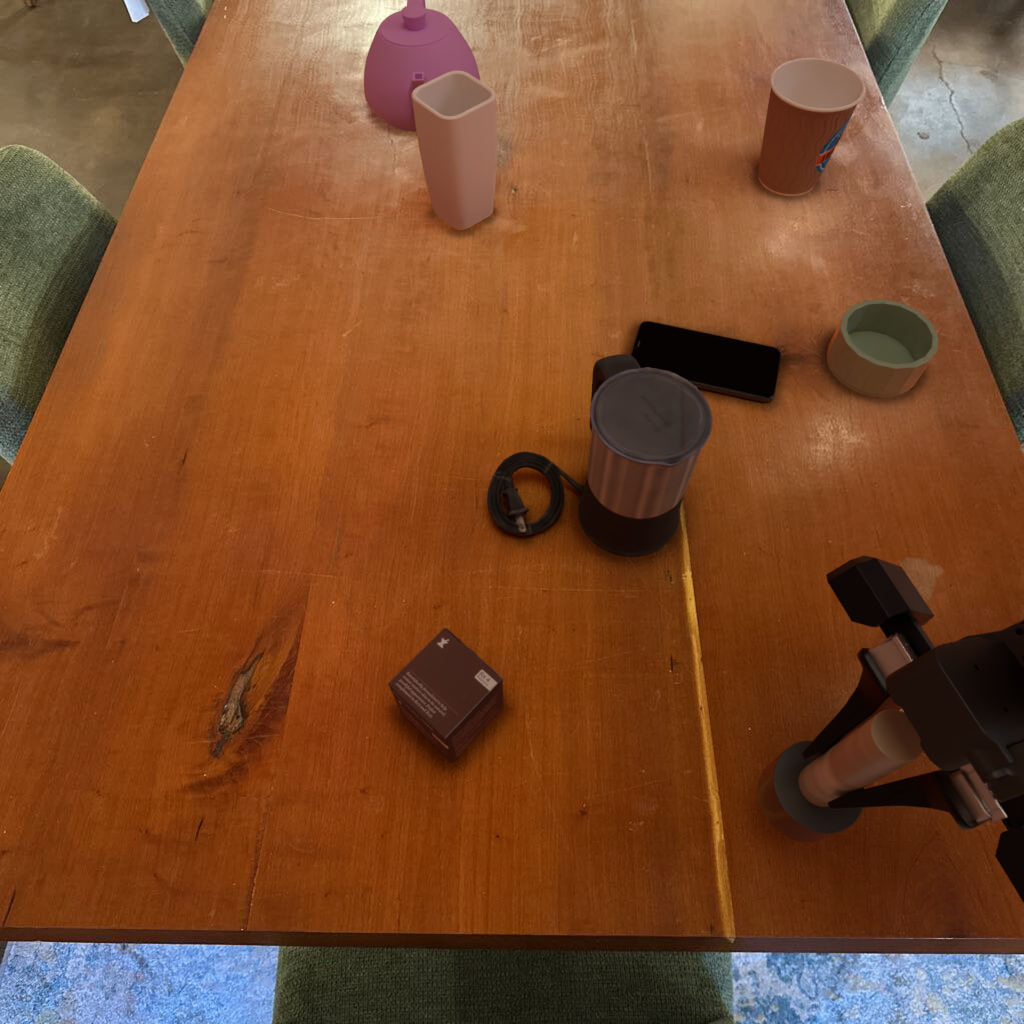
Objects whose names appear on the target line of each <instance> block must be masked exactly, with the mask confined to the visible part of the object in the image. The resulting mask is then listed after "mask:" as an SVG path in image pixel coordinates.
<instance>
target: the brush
mask: <svg viewBox="0 0 1024 1024" xmlns="http://www.w3.org/2000/svg"><path fill="white" fill-rule="evenodd" d="M812 741H813V740H802V741H799V742H796V743H793V744H791V745H789V746H788V747H787V748H786V749H784V750H782V752H781V753H779V754H778V755H777V756H776V757H775V758H773V760H771V761H770V762H769V763H768V764H767V765H766V766H765V767H764V769H763V770H762V771H761V774H760V776H759V780H758V783H757V798H758V803H759V807H760V809H761V812H762V813H763V815H764V817H765V819H766V820H767V822H769V824H770V825H771V827H773V828H774V829H775V830H776V831H777V832H779V834H781V835H782V836H784V837H786V838H788V839H790V840H792V841H795V842H800V843H808V844H809V843H817V842H820V841H821V842H822V841H823V840H826V839H828V838H830V837H832V836H834V835H837V834H840V833H841V832H844V831H845V830H848V829H849V828H851V827H852V826H853V825H854V824H856V822H858V819H859V818H860V817H861V815H862V812H863V810H864V808H847V809H830V808H829V806H828V804H827V803H828V802H829V801H831V800H834V799H836V798H838V797H840V796H843V795H845V794H847V793H851V792H855V791H859V790H862V789H866V787H868V786H870V785H872V784H875V782H877V781H879V780H882V778H885V777H887V776H888V775H890V774H892V773H894V772H895V771H897V770H900V769H901V768H903V767H905V766H908V764H910V763H913V762H914V761H916V760H917V759H919V758H920V757H921V756H922V754H923V753H924V751H923V749H922V748H921V745H920V742H921V740H920V737H919V735H918V734H917V732H916V731H915V729H914V727H913V726H912V724H911V722H910V721H909V719H908V717H907V716H906V714H905V712H904V711H903V710H894V709H888V710H884V711H881V712H879V713H878V714H876V715H875V716H874V717H872V718H871V719H870V720H868V721H867V722H866V723H864V724H863V725H862V726H860V727H859V728H857V729H856V730H855V731H853V732H852V733H851V734H849V735H848V736H847V737H845V738H844V739H843V740H841V741H840V742H838V743H837V744H836V745H834V746H833V747H832V748H830V749H829V750H828V751H826V752H825V753H824V754H822V755H819V756H817V757H815V758H812V759H807V760H805V759H804V758H803V756H802V752H803V751H804V750H805V749H806V748H807V747H808V746H809V744H810V743H811V742H812Z"/></svg>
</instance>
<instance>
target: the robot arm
mask: <svg viewBox="0 0 1024 1024" xmlns="http://www.w3.org/2000/svg"><path fill="white" fill-rule="evenodd" d="M825 575H826V581H827V583H828V585H829V587H830V589H831V590H832V592H833V593H834V595H835V597H836V598H837V601H839V603H840V605H841V606H842V608H843V609H844V611H845V613H846V614H847V616H848V618H849V619H850V621H851V622H852V623H856V624H860V625H863V626H866V627H869V628H870V627H871V628H875V629H876V628H880V630H881V631H882V633H883V635H884V636H885V639H884V640H881V641H880V643H879V644H877V645H875V646H873V647H871V648H869V647H862V648H860V650H858V652H857V654H856V656H857V659H858V661H859V663H860V665H861V668H862V672H861V674H860V677H859V681H858V683H857V686H856V687H855V689H854V691H853V692H852V694H851V695H850V696H849V698H848V699H847V701H846V703H845V704H844V705H843V707H842V708H841V709H840V710H839V711H838V713H837V714H836V715H834V717H833V718H832V719H831V720H830V721H829V722H828V723H827V724H826V726H825V727H824V728H822V730H821V731H820V732H819V733H818V735H816V736H815V737H814V739H813V740H811V741H812V742H811V743H810V744H809V746H808V747H807V748H806V749H805V750H804V751H803V752H802V756H803V758H804V759H805V760H807V759H812V758H815V757H817V756H819V755H822V754H824V753H825V752H826V751H828V750H829V749H830V748H832V747H833V746H834V745H836V744H837V743H838V742H840V741H841V740H843V739H844V738H845V737H847V736H848V735H849V734H851V733H852V732H853V731H855V730H856V729H857V728H859V727H860V726H862V725H863V724H864V723H866V722H867V721H868V720H870V719H871V718H872V717H874V716H875V715H876V714H878V713H879V712H881V711H884V710H888V709H894V710H899V711H902V712H905V714H906V716H907V717H908V719H909V721H910V722H911V724H912V726H913V727H914V729H915V731H916V732H917V734H918V735H919V737H920V740H921V742H920V745H921V748H922V749H923V753H924V754H925V755H926V757H927V759H928V760H929V761H930V762H931V763H932V764H933V765H934V766H936V767H937V768H939V769H936V770H933V771H930V772H925V773H922V774H918V775H913V776H910V777H906V778H902V779H898V780H894V781H890V782H886V783H883V784H879V785H874V786H870V787H867V788H866V787H865V788H864V789H862V790H859V791H855V792H851V793H847V794H845V795H843V796H840V797H838V798H836V799H834V800H831V801H829V802H828V803H827V804H828V806H829V808H830V809H847V808H863V809H864V808H881V807H882V808H883V807H911V808H922V809H931V810H937V811H940V812H946V813H948V814H950V815H951V817H952V818H953V820H954V821H955V823H956V825H957V826H958V827H959V828H960V829H961V830H963V831H970V830H972V829H975V828H977V827H980V826H981V825H983V824H985V823H987V822H989V821H991V822H992V823H996V822H999V821H1001V822H1002V824H1003V825H1004V827H1005V828H1006V830H1004V831H1002V832H1000V834H999V839H998V842H997V846H996V850H995V854H994V857H995V858H996V860H997V862H998V863H999V865H1000V867H1001V869H1002V870H1003V871H1004V874H1005V875H1006V876H1007V878H1008V879H1009V881H1010V883H1011V886H1013V888H1014V889H1015V891H1016V893H1017V894H1018V896H1019V897H1020V899H1021V901H1022V903H1023V904H1024V618H1023V619H1021V620H1018V621H1017V622H1014V623H1013V624H1010V625H1009V626H1006V627H1005V628H1003V629H1001V630H997V631H990V632H985V633H980V634H978V633H977V634H971V635H966V636H964V637H962V638H959V639H957V640H956V641H955V640H954V641H951V642H946V643H942V644H938V645H937V646H935V645H934V643H933V642H932V640H931V639H930V637H929V636H928V634H927V633H926V631H925V630H924V628H923V626H925V625H926V624H927V623H928V622H929V621H931V620H932V619H933V618H934V617H935V614H934V613H933V611H932V610H931V608H930V607H929V606H928V605H929V604H927V602H926V601H925V599H924V598H923V596H922V595H921V593H920V592H919V590H918V589H917V588H916V586H915V584H914V583H913V582H912V580H911V578H910V577H909V575H908V574H907V573H906V571H905V570H904V568H903V567H902V566H900V565H898V564H894V563H892V562H888V561H886V560H883V559H881V558H877V557H874V556H868V555H860V556H857V557H854V558H851V559H850V560H847V561H845V563H843V564H841V565H839V566H838V567H836V568H834V569H833V570H831V571H829V572H828V573H827V574H825Z"/></svg>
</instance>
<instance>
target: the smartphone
mask: <svg viewBox="0 0 1024 1024" xmlns="http://www.w3.org/2000/svg"><path fill="white" fill-rule="evenodd" d="M629 355H631V356H633V357H634V358H635V359H636V361H637V362H638V364H639V365H640V367H641V368H646V367H650V368H657V369H661V370H666V371H669V372H672V373H675V374H677V375H679V376H680V377H682V378H684V379H686V380H688V381H689V382H691V383H692V384H693V385H694V386H696V387H697V388H698V389H702V390H703V389H704V390H707V391H712V392H716V393H721V394H724V395H730V396H733V397H738V398H744V399H747V400H752V401H756V402H757V401H758V402H760V403H761V402H762V403H769V402H771V401H773V400H774V398H775V396H776V392H777V386H778V380H779V375H780V374H779V373H780V368H781V361H782V352H781V350H780V349H778V348H777V347H774V346H771V345H767V344H761V343H756V342H752V341H748V340H743V339H737V338H733V337H729V336H723V335H719V334H712V333H708V332H704V331H699V330H695V329H689V328H685V327H680V326H676V325H671V324H666V323H662V322H656V321H651V320H644V321H642V322H641V323H640V324H639V325H638V328H637V331H636V333H635V336H634V340H633V343H632V347H631V351H630V353H629Z"/></svg>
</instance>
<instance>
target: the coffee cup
mask: <svg viewBox="0 0 1024 1024" xmlns="http://www.w3.org/2000/svg"><path fill="white" fill-rule="evenodd" d="M769 84H770V91H769V97H768V103H767V109H766V118H765V121H764V122H765V124H764V129H763V136H762V142H761V148H760V154H759V159H758V160H759V161H758V174H757V175H758V180H759V183H760V184H761V185H762V186H763V187H764V188H765V189H766V190H767V191H769V192H771V193H773V194H776V195H780V196H783V197H798V196H802V195H805V194H808V193H809V192H811V191H812V189H814V187H815V185H816V184H817V182H818V181H819V180H820V178H821V176H822V174H823V172H824V171H825V170H826V166H827V165H828V163H829V161H830V159H831V157H832V155H833V153H834V151H835V149H836V147H837V146H838V144H839V142H840V139H841V138H842V136H843V134H844V131H845V130H846V128H847V126H848V124H849V123H850V121H851V118H852V117H853V114H854V112H855V110H856V108H857V106H858V104H859V103H860V102H861V101H863V99H864V97H865V95H866V83H865V81H864V79H863V77H862V76H861V75H860V74H859V73H858V72H856V70H854V69H852V68H851V67H849V66H848V65H846V64H843V63H840V62H838V61H835V60H831V59H827V58H819V57H800V58H795V59H790V60H787V61H784V62H783V63H781V64H779V65H778V66H777V67H775V69H774V70H773V71H772V73H771V74H770V77H769Z"/></svg>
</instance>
